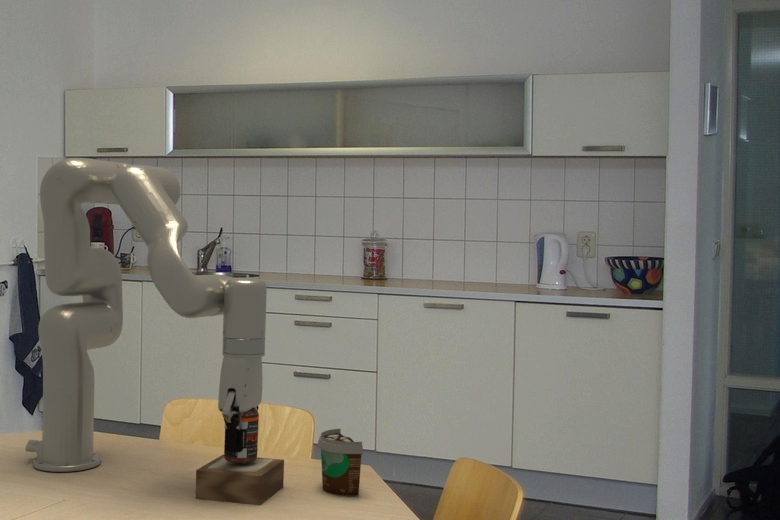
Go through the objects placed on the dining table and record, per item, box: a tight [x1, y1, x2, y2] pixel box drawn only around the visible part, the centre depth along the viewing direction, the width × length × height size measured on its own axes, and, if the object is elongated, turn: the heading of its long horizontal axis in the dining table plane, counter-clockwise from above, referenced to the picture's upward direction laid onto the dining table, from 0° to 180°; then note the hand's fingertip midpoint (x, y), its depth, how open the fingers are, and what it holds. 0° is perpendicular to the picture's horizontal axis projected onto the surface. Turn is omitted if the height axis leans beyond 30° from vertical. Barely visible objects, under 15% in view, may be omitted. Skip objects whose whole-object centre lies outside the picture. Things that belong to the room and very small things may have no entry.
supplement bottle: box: [223, 407, 260, 463], centre depth 168 cm, size 6×6×11 cm
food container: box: [316, 428, 364, 497], centre depth 171 cm, size 12×6×10 cm, turn 23°
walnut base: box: [195, 453, 285, 506], centre depth 168 cm, size 12×12×5 cm
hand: (240, 446), depth 168 cm, fingers closed on supplement bottle, 5 cm apart
